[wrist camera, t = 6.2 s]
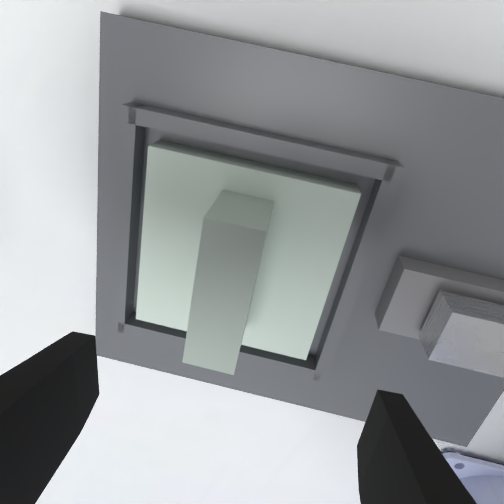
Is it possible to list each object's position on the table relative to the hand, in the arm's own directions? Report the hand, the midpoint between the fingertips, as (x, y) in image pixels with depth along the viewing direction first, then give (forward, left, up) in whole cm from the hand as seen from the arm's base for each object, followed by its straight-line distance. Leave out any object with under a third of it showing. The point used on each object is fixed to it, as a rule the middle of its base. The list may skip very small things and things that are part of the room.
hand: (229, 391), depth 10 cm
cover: (+1, 0, -8) cm, 8 cm away
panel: (-3, 0, -10) cm, 10 cm away
